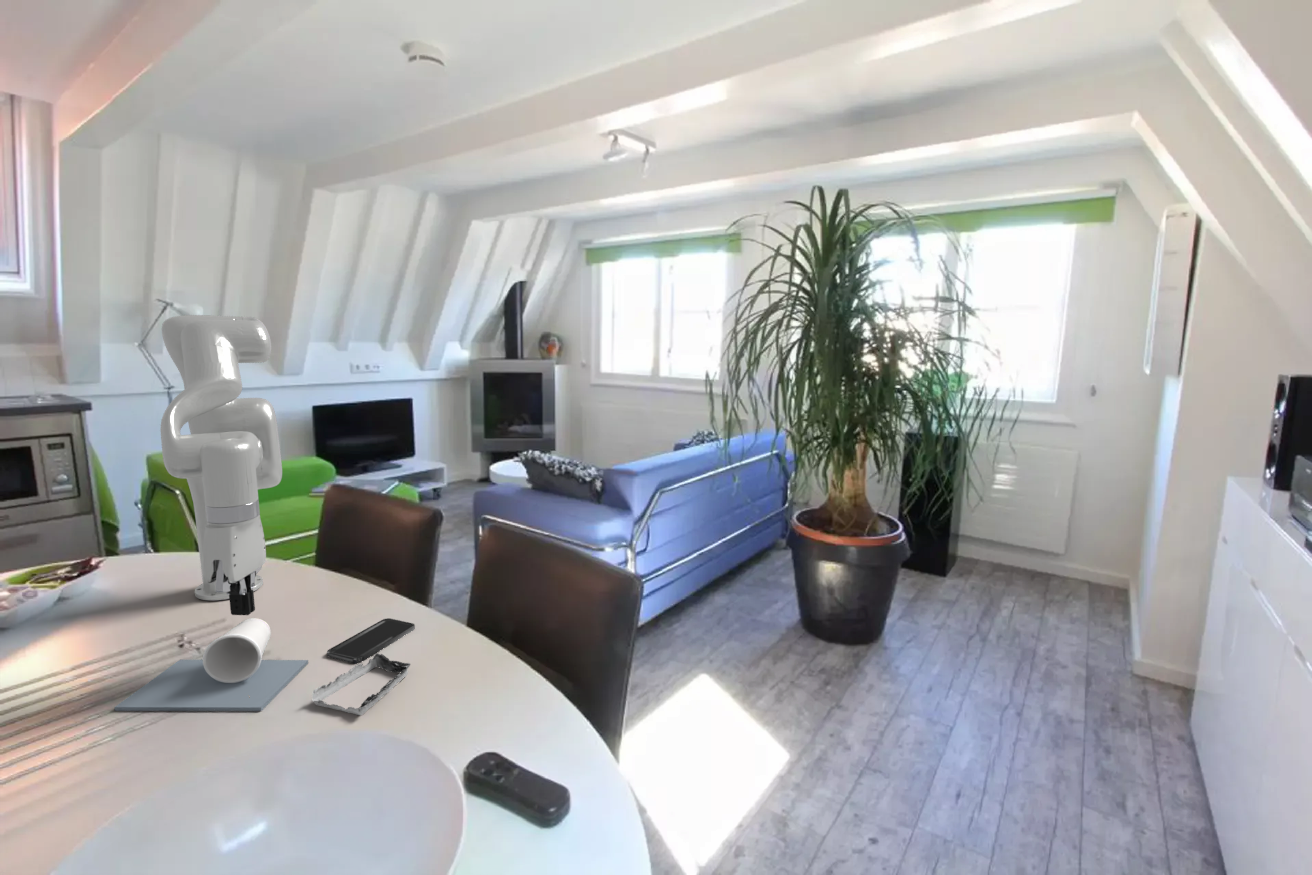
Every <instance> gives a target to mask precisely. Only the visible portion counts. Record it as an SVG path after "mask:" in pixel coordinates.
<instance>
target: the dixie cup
mask: <svg viewBox="0 0 1312 875" xmlns="http://www.w3.org/2000/svg"><path fill="white" fill-rule="evenodd" d="M271 634H272V630H271V627H270V625H269V624H268V623H267V622H266V621H265V620H263V619H261V618H255V617H253V618H252V617H251V618H250V617H249V618H247V619H244V620H242V621H241V622H239V623H238V624H237V625H235V626H234V627H232V628H231V629H230V630H229V631H227V632H226V633H224V634H223V635H222V636H220V637H219V636H218V637H217V638H216V639H214V640H212V642H210V643H209V644H208V645H207V647H206V648H205V650H204V651H203V656H202V660H203V665H204V668H205V670H206V672H207V673H208V674H209V675H210V676H211V677H212V678H214V679H215V680H217V681H220V682H224V683H237V682H241V681H244V680H246V679H248V678H249V677H251V676H252V675H253V674H254V673H255V672H256V671H257V670H258V668H259V666H260V664H261V660H263V659H262V658H263V655H264V652H265V650H266V648H267V645H268V643H269V641H270V638H271Z"/></svg>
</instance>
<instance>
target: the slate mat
mask: <svg viewBox="0 0 1312 875" xmlns="http://www.w3.org/2000/svg"><path fill="white" fill-rule="evenodd" d="M308 664H309V660H308V659H261V664H260V666H259V668H258V670H257V671H256V672H255V673H254V674H253V675H252V676H251V677H249V678H248V679H246V680H244V681H241V682H237V683H224V682H220V681H217V680H215V679H214V678H212V677H211V676H210V675H209V674H208V673H207V672H206V670H205V668H204V665H203V659H179V660H177V661H176V662H175V663H173V664H172V665H171V666H169V667H168V668H167V669H166V668H165V670H163V671H162V672H161V673H160V674H158V675H156V677H154V678H153V679H151V680H150V681H148V682H147V683H146V684H144V685H143V686H142V687H140V688H139V689H138V690H136V691H135V692H133V693H132V694H131V695H129V696H128V697H126V698H125V699H124V700H122V701H121V702H119V703H118V704H117V705H116V706H114V712H115V711H116V712H117V711H118V712H120V711H121V712H125V711H126V712H127V711H129V712H133V711H134V712H135V711H136V712H137V711H138V712H140V711H142V712H143V711H144V712H150V711H151V712H171V711H172V712H238V711H239V712H262V711H264V709H265V708H266V707H267V706H268V705H269V703H271V702H272V701H273V700H274V699H275V698H276V697H277V695H278V694H280V693H281V692H282V691H283V690H284V688H286V686H287V685H288V684H289V683H290V682H292V681H293V680H294V678H295V677H297V676H298V674H299V673H300V672H302V670H303V669H304V668H305V667H306V666H307V665H308ZM248 695H249V696H250V698H249V696H248Z"/></svg>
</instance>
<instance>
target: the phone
mask: <svg viewBox="0 0 1312 875" xmlns="http://www.w3.org/2000/svg"><path fill="white" fill-rule="evenodd" d="M415 626H416V625H415V623H412V622H408V621H404V620H400V619H395V618H383V619H381V620H379V621H378V622H376V623H374V624H372V625H371V626H368V627H366V628H365V629H364V630H362V631H360V632H357V633H356V634H354V635H353V636H350V637H349V638H347V639H345V640H344V641H341V642H340V643H338V644H336V645H335V646H332V647H330V648H329V649H327V651H326V656H327V658H329V659H333V660H338V661H340V662H341V661H342V662H345V663H350V664H352V665H353V664H354V665H357V663H358V664H362V663H363V662H365V661H366V660H368V659H369V658H371V657H373V656H375V654H377V652H378V653H379V652H381V651H382V650H384V649H386V648H387V647H390V644H391V645H392V644H394V643H396V642H397V641H399V640H400V639H403V636H404V635H405V636H407V635H409V634H410V633H411V631H412V632H413V631H415V630H416V628H415ZM406 634H407V635H406ZM405 636H404V637H405ZM398 639H399V640H398ZM383 648H384V649H383ZM380 650H381V651H380ZM372 655H373V656H372ZM370 656H371V657H370ZM367 658H368V659H367ZM362 661H363V662H362Z"/></svg>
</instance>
